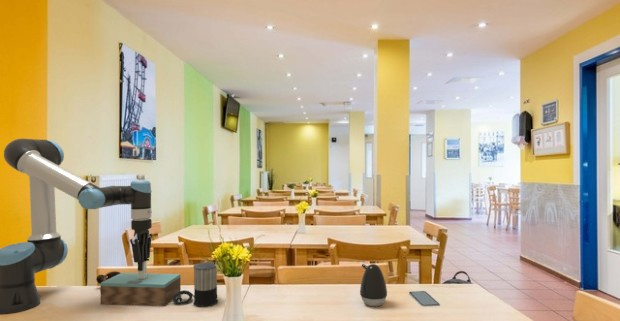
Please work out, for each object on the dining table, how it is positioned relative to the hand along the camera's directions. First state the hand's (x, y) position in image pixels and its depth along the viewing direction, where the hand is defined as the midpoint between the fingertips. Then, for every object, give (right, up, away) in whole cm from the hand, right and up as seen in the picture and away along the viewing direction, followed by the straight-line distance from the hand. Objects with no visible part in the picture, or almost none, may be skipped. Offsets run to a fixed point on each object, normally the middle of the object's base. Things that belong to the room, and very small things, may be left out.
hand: (142, 278), depth 158 cm
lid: (0, -1, 0) cm, 1 cm away
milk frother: (+23, -9, -4) cm, 25 cm away
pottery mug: (-20, -9, +14) cm, 26 cm away
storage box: (0, -9, 0) cm, 9 cm away
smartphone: (+112, -8, -3) cm, 112 cm away
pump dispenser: (+91, -8, -7) cm, 92 cm away
